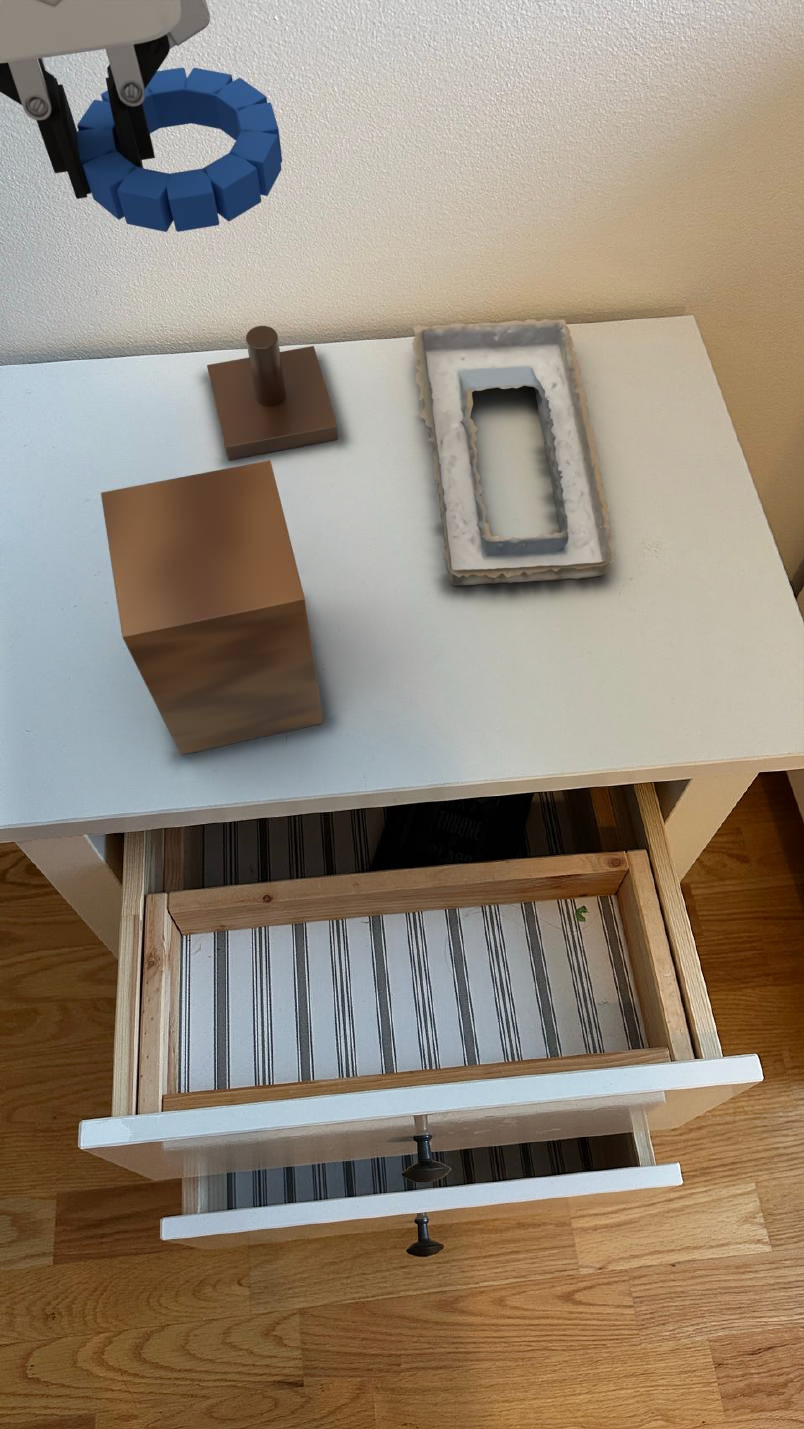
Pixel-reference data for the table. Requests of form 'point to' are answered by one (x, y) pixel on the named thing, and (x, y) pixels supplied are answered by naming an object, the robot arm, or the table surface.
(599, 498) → the picture frame
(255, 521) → the stand
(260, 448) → the post
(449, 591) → the table surface
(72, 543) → the table surface
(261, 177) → the ring
